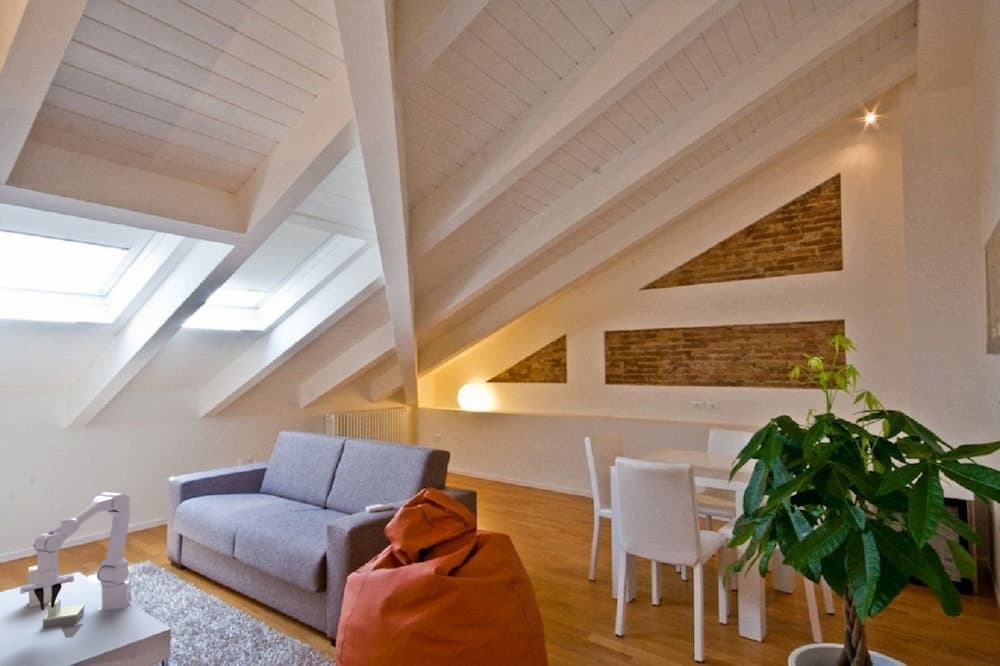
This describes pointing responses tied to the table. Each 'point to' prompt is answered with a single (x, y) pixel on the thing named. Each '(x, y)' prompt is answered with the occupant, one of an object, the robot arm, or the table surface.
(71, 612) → the lid
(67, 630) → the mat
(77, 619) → the tub
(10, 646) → the table surface
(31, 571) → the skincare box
